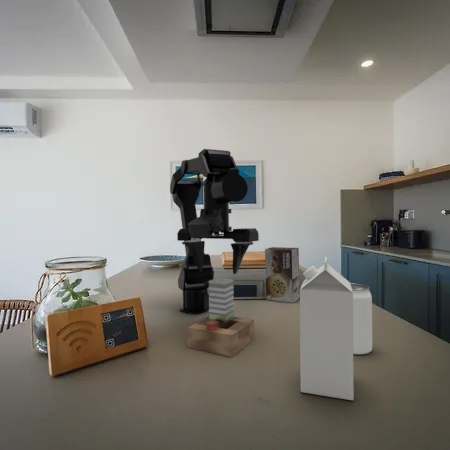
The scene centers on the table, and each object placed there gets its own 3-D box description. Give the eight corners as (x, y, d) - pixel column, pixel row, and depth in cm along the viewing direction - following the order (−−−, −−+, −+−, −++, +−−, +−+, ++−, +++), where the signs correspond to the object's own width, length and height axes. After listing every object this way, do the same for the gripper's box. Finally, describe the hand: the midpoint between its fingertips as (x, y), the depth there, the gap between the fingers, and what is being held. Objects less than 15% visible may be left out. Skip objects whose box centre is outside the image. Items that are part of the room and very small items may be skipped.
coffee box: (300, 298, 98) (299, 247, 98) (293, 303, 93) (292, 249, 93) (273, 295, 103) (272, 246, 103) (265, 299, 98) (264, 248, 97)
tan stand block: (187, 347, 62) (187, 320, 62) (213, 331, 71) (213, 308, 70) (232, 357, 57) (232, 328, 57) (254, 338, 66) (254, 314, 66)
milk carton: (350, 377, 49) (350, 257, 49) (353, 402, 43) (352, 263, 42) (304, 370, 52) (303, 255, 51) (300, 393, 45) (299, 261, 45)
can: (376, 357, 56) (375, 290, 56) (338, 354, 58) (338, 289, 57) (367, 343, 63) (367, 283, 62) (333, 340, 64) (333, 282, 64)
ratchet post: (209, 320, 63) (208, 281, 63) (218, 315, 66) (217, 277, 66) (225, 323, 61) (224, 282, 61) (234, 317, 64) (233, 279, 64)
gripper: (161, 204, 69) (162, 275, 69) (237, 201, 60) (238, 281, 61) (190, 206, 79) (191, 268, 79) (259, 203, 70) (259, 273, 70)
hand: (217, 272), depth 72 cm, fingers open, 9 cm apart
